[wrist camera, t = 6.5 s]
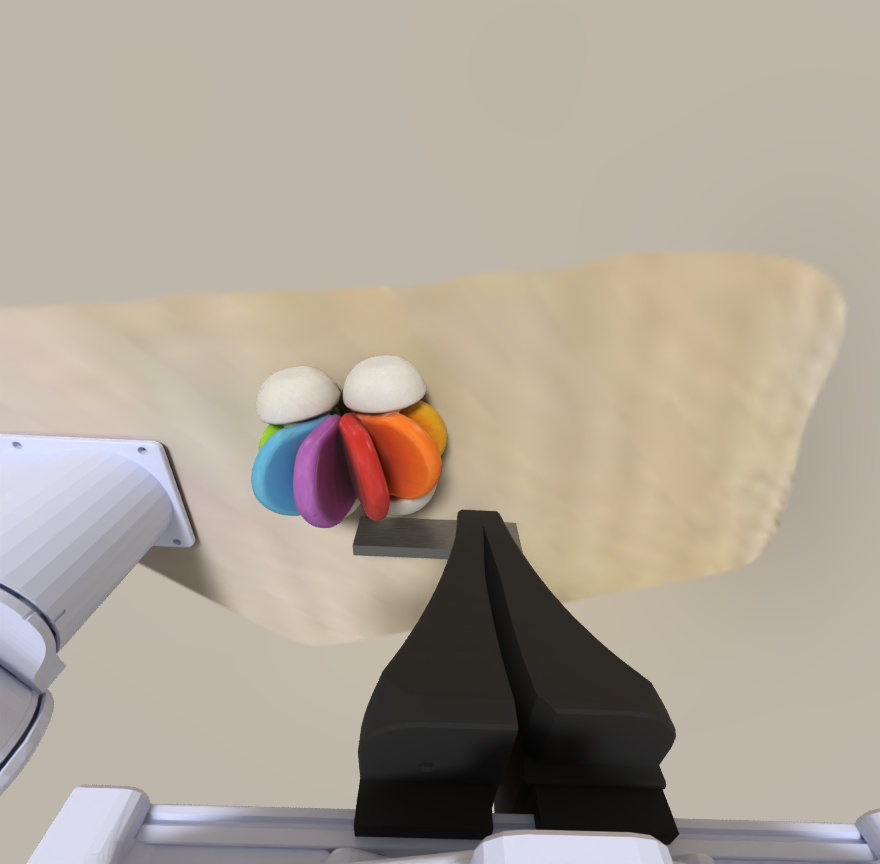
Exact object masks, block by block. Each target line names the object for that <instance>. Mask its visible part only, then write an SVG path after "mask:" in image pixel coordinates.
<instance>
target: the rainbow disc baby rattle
mask: <svg viewBox="0 0 880 864" xmlns="http://www.w3.org/2000/svg"><path fill="white" fill-rule="evenodd" d="M425 393H426V385H425V382H424V380H423V377H422V376H421V374H420V373H419V371H418V370H417V369H416V368H415V367H414V366H413V365H412V364H411V363H410V362H408V361H407V360H405V359H403V358H401V357H397V356H391V355H383V356H376V357H371V358H368V359H365V360H363V361H361V362H360V363H358V364H357V365H356V366H355V367H354V368H353V369H352V370H351V372H350V373H349V375H348V377H347V379H346V381H345V384H344V388H343V401H344V404H345V405H346V407H347V408H349V409H350V410H352V411H353V412H355V414H352V413H345V414H344V415H343V416H342V417H341V415H340V412H339V410H338V408H337V407H336V404H337V403H338V402H339V400H340V398H341V393H340V390H339V388H338V387H337V385H336V384H335V382H334V381H333V380H332V379H331V378H330V377H329V376H328V375H326V374H325V373H323V372H321V371H319V370H317V369H315V368H312V367H307V366H298V367H292V368H287V369H284V370H281V371H278V372H276V373H274V374H273V375H271V376H270V377H269V378H268V379H267V380H266V381H265V382H264V384H263V385H262V387H261V388H260V391H259V393H258V396H257V401H256V410H257V416H258V418H259V419H260V420H261V421H263V422H265V423H269V424H270V425H269V426H268V427H267V429H266V430H265V432H264V434H263V436H262V438H261V441H260V445H259V452H258V454H257V457H256V459H255V461H254V465H253V468H252V475H251V481H252V488H253V492H254V495H255V496H256V498H257V499H258V501H259V502H260V503H261V504H262V505H263V506H265V507H266V508H267V509H269V510H271V511H273V512H275V513H278V514H282V515H289V516H299V515H301V516H302V517H303V518H304V519H305V520H306V521H307V522H308V523H309V524H311V525H313V526H315V527H319V528H330V527H333V526H335V525H337V524H339V523H340V522H341V521H342V520H343V519H344V518H346V517H347V516H349V515H350V514H352V513H353V512H354V511H355V510H356V509H357V508H358V507H359V505H360V504H361V505H362V507H363V510H364V512H365V514H366V515H367V516H368V518H370V519H371V520H375V521H377V520H381V519H383V518H384V517H386V515H387V514H392V515H407V514H411V513H414V512H416V511H418V510H420V509H422V508H423V507H424V506H425V505H426V504H427V503H428V502H429V501H430V500H431V498H432V496H433V495H434V493H435V490H436V487H437V482H438V480H439V478H440V474H441V469H442V460H441V455H442V454H443V452H444V450H445V447H446V444H447V430H446V427H445V424H444V422H443V420H442V418H441V416H440V415H439V414H438V412H437V411H436V410H435V409H434V408H433V407H431V406H430V405H429V404H427V403H425V402H423V401H421V400H420V399H422V398H423V396H424V395H425Z"/></svg>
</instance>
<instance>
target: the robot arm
mask: <svg viewBox="0 0 880 864" xmlns="http://www.w3.org/2000/svg"><path fill="white" fill-rule="evenodd" d="M143 448H145V449H146V450H147V451H146V450H144V449H143ZM194 543H195V537H194V534H193V531H192V528H191V525H190V522H189V519H188V516H187V513H186V511H185V508H184V505H183V502H182V499H181V496H180V493H179V490H178V487H177V485H176V482H175V479H174V476H173V473H172V470H171V467H170V464H169V461H168V458H167V456H166V453H165V450H164V448H163V446H162V445H161V444H160V443H158V442H156V441H147V440H125V439H102V438H80V437H57V436H35V435H12V434H0V795H1V794H2V793H3V792H4V791H5V790H6V789H7V788H8V787H9V785H10V784H11V783H12V782H13V781H14V779H15V778H16V777H17V776H18V775H19V773H20V772H21V771H22V769H23V768H24V766H25V765H26V764H27V762H28V761H29V760H30V758H31V757H32V755H33V753H34V752H35V750H36V748H37V746H38V745H39V743H40V740H41V738H42V737H43V735H44V733H45V731H46V729H47V727H48V724H49V722H50V719H51V716H52V712H53V707H54V700H53V696H52V694H51V693H50V691H49V690H48V689H47V688H48V687H49V686H50V685H51V684H52V682H53V681H54V680H55V679H56V678H57V676H58V675H59V674H60V673H61V672H62V671H63V669H64V668H65V667H66V665H65V664H64V663H63V662H62V661H61V660H60V658H59V657H58V655H57V653H58V652H59V651H60V650H61V649H62V648H63V647H64V645H65V644H66V643H67V642H68V641H69V640H70V638H72V636H73V635H74V634H75V633H76V632H77V631H78V630H79V628H80V627H81V626H82V625H83V624H84V623H85V622H86V621H87V619H88V618H89V617H90V616H91V615H92V614H93V613H94V611H95V610H96V609H97V608H98V607H99V606H100V604H102V602H103V601H104V600H105V599H106V598H107V597H108V596H109V594H110V593H111V592H112V591H113V590H114V589H115V587H116V586H117V585H118V584H119V583H120V582H121V581H122V580H123V579H124V577H125V576H126V575H127V574H128V573H129V572H130V571H131V570H132V568H133V567H134V566H135V565H136V564H137V563H138V562H139V560H140V559H141V558H142V557H143V556H144V555H145V554H146V553H147V551H148V550H149V549H150V548H151V547H152V546H163V547H191V546H192V545H193V544H194ZM675 738H676V733H675V728H674V725H673V723H672V721H671V719H670V717H669V714H668V712H667V710H666V708H665V706H664V704H663V702H662V700H661V699H660V697H659V695H658V694H657V692H656V690H655V688H654V687H653V685H652V683H651V682H650V681H648V680H647V679H646V678H644V677H643V676H642V675H641V674H639V673H638V672H637V671H635V670H634V669H633V668H631V667H630V666H629V665H627V664H626V663H625V662H623V661H622V660H621V659H620V658H618V657H617V656H616V655H615V654H613V653H612V652H611V651H610V650H608V648H606V647H605V646H604V645H603V644H602V643H601V642H599V641H598V640H597V639H596V638H595V637H594V636H593V635H592V634H591V633H590V632H589V631H588V630H587V629H586V628H585V627H584V626H583V625H581V624H580V623H579V622H578V621H577V620H576V619H575V618H574V617H573V616H572V615H571V614H570V612H569V611H568V610H567V609H566V608H565V607H564V606H563V605H562V604H561V603H560V602H559V600H558V599H557V598H556V597H555V596H554V595H553V594H552V592H551V591H550V590H549V589H548V587H547V586H546V585H545V584H544V582H543V581H542V580H541V579H540V577H539V576H538V575H537V573H536V572H535V571H534V569H533V568H532V566H531V565H530V564H529V562H528V561H527V559H526V558H525V556H524V555H523V553H522V552H521V550H520V549H519V547H518V545H517V544H516V542H515V541H514V539H513V537H512V536H511V534H510V532H509V530H508V529H507V527H506V525H505V523H504V521H503V519H502V518H501V516H500V514H499V513H498V512H497V511H477V510H460V511H459V512H458V516H457V526H456V536H455V540H454V543H453V547H452V550H451V553H450V556H449V559H448V562H447V564H446V567H445V569H444V572H443V574H442V577H441V579H440V581H439V583H438V586H437V588H436V590H435V592H434V594H433V596H432V598H431V600H430V601H429V603H428V605H427V607H426V609H425V611H424V612H423V614H422V616H421V618H420V619H419V621H418V622H417V624H416V626H415V627H414V629H413V630H412V632H411V633H410V635H409V636H408V638H407V639H406V641H405V643H404V644H403V645H402V647H401V648H400V650H399V651H398V652H397V654H396V655H395V656H394V657H393V659H392V660H391V661H390V663H389V664H388V665H387V666H386V668H385V669H384V670H383V672H382V675H381V677H380V679H379V681H378V683H377V685H376V687H375V689H374V692H373V694H372V696H371V699H370V701H369V704H368V706H367V709H366V712H365V715H364V718H363V722H362V726H361V733H360V741H359V748H358V758H359V769H360V785H359V791H358V797H357V805H356V809H355V810H354V809H320V808H284V807H281V808H280V807H249V806H248V807H247V806H212V805H178V804H151V803H150V800H149V797H148V795H147V794H146V793H145V792H144V791H143V790H141V789H138V788H135V787H129V786H108V785H107V786H106V785H105V786H104V785H80V786H78V787H76V788H75V789H74V790H73V792H72V793H71V795H70V796H69V798H68V799H67V801H66V803H65V804H64V806H63V807H62V809H61V810H60V812H59V814H58V815H57V817H56V818H55V820H54V822H53V823H52V824H51V826H50V828H49V829H48V831H47V833H46V834H45V835H44V837H43V839H42V840H41V842H40V843H39V845H38V846H37V848H36V849H35V851H34V853H33V854H32V856H31V857H30V859H29V860H28V862H27V864H880V809H876V810H872V811H869V812H867V813H865V814H863V815H862V816H860V817H859V818H858V819H857V820H856V823H817V822H783V821H748V820H712V819H677V818H673V816H672V813H671V810H670V808H669V805H668V803H667V800H666V797H665V795H664V792H663V790H662V789H665V787H666V781H665V779H664V777H663V774H662V772H661V769H660V766H659V764H660V763H661V762H662V760H663V759H664V757H665V756H666V754H667V753H668V752H669V750H670V749H671V747H672V745H673V743H674V740H675ZM493 803H494V809H495V810H494V811H495V813H492V806H493Z"/></svg>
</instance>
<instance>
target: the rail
mask: <svg viewBox="0 0 880 864" xmlns="http://www.w3.org/2000/svg"><path fill="white" fill-rule="evenodd" d="M505 525H506V527H507V529H508V530H509V532H510V534H511V536H512V537H513V539H514V541H515V542H516V544H517V545H518V547H519V549H520V550H521V552H522V548H521V544H520V539H519V535H518V531H517V526H516V523H505ZM456 526H457V521H453V520H429V519H405V518H383V519H381V520H377V521H375V520H371V519H370V518H368V517H360V521H359V525H358V528H357V532H356V535H355V539H354V543H353V554H354V555H362V556H387V557H411V558H436V559H449V556H450V553H451V550H452V547H453V543H454V540H455V536H456Z"/></svg>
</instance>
